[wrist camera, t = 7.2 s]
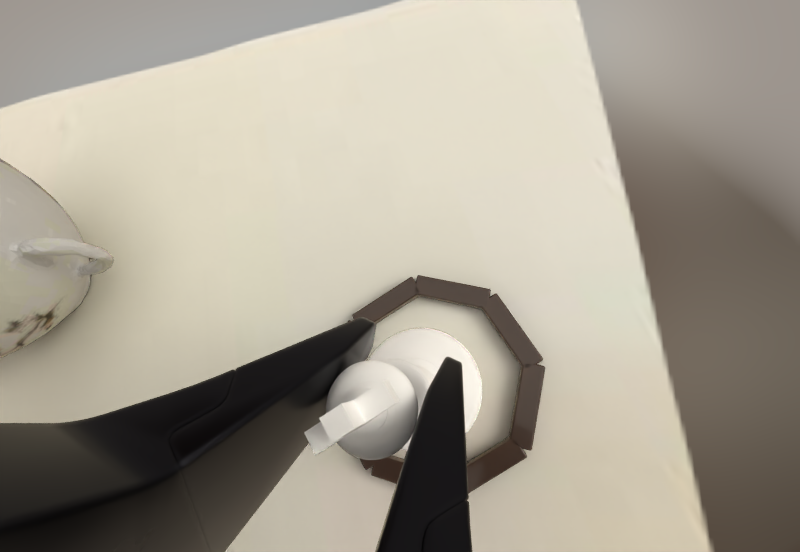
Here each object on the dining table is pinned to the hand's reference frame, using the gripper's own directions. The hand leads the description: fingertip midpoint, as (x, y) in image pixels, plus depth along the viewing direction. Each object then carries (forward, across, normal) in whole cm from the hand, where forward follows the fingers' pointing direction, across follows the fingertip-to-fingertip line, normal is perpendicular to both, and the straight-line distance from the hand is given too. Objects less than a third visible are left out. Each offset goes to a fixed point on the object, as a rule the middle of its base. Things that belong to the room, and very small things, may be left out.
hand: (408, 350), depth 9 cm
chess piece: (+4, 0, +6) cm, 7 cm away
